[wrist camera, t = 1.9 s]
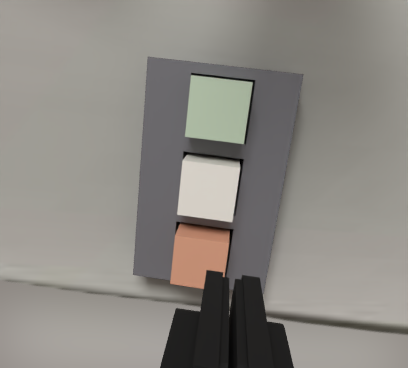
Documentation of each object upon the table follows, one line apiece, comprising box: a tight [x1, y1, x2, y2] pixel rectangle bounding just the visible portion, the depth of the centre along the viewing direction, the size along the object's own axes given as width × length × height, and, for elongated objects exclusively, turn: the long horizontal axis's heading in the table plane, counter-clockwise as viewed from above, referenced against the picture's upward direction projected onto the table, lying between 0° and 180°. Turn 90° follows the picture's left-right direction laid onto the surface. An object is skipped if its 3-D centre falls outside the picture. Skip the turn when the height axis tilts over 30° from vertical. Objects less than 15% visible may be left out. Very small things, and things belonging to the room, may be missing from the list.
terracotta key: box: [170, 222, 230, 289], centre depth 29 cm, size 4×4×4 cm
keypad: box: [133, 57, 303, 294], centre depth 30 cm, size 19×12×3 cm, turn 173°
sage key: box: [185, 75, 253, 144], centre depth 26 cm, size 4×4×4 cm
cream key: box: [177, 153, 240, 222], centre depth 28 cm, size 4×4×4 cm
